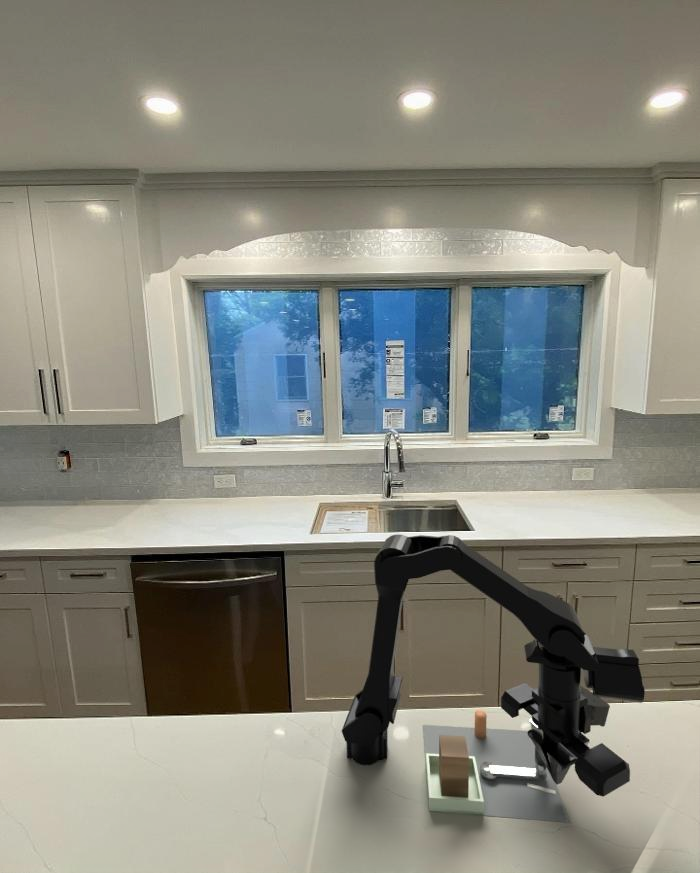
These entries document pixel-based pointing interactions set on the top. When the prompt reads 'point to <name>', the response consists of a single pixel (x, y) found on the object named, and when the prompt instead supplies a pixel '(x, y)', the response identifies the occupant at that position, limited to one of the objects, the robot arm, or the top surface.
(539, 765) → the crank
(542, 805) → the plate
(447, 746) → the block
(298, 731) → the top surface
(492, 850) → the top surface
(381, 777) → the top surface
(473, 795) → the tray
